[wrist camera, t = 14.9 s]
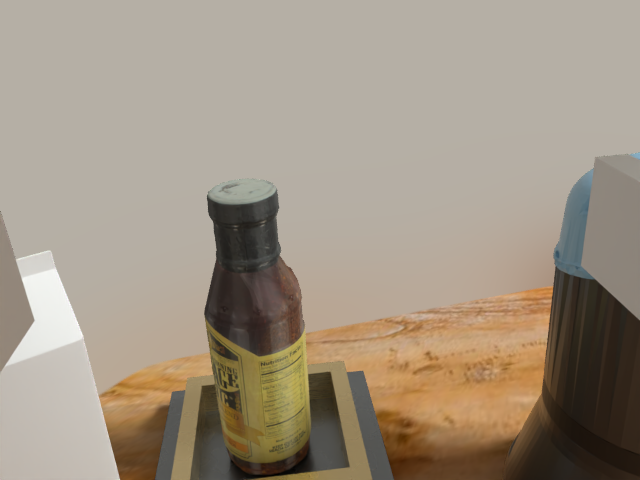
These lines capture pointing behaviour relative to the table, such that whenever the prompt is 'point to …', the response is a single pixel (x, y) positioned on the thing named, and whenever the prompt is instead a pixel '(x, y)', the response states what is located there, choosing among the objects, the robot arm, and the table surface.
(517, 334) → the table surface
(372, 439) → the plate
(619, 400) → the robot arm
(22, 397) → the milk carton
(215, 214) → the sauce bottle
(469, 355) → the table surface
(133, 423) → the table surface
